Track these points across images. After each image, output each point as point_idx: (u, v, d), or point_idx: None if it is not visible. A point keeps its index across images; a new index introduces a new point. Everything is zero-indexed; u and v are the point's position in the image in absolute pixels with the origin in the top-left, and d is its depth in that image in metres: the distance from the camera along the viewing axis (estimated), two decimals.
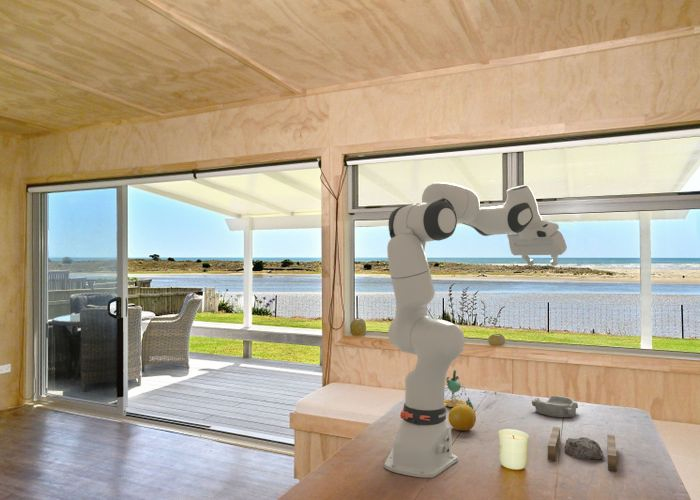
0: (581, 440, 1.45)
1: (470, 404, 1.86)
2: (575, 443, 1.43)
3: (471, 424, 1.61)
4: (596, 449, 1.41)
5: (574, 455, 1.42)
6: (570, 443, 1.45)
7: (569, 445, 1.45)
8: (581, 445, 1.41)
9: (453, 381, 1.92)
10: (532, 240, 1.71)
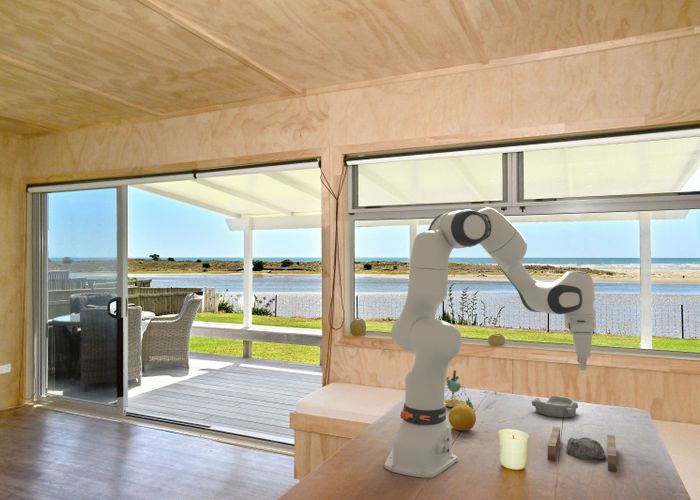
0: (583, 440, 1.45)
1: (470, 404, 1.86)
2: (577, 443, 1.43)
3: (471, 424, 1.61)
4: (598, 449, 1.41)
5: (576, 455, 1.42)
6: (572, 443, 1.45)
7: (571, 445, 1.45)
8: (583, 445, 1.42)
9: (453, 381, 1.92)
10: (570, 331, 1.58)
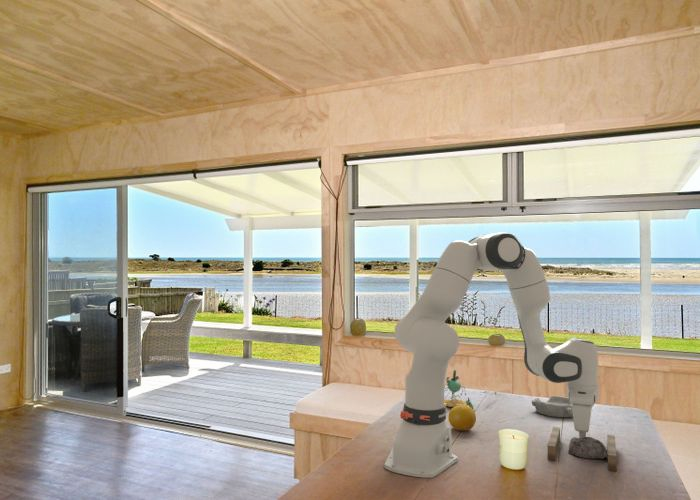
0: (585, 439, 1.45)
1: (470, 404, 1.86)
2: (579, 442, 1.43)
3: (471, 424, 1.61)
4: (600, 448, 1.41)
5: (577, 454, 1.42)
6: (574, 442, 1.45)
7: (573, 444, 1.45)
8: (584, 444, 1.41)
9: (453, 381, 1.92)
10: None
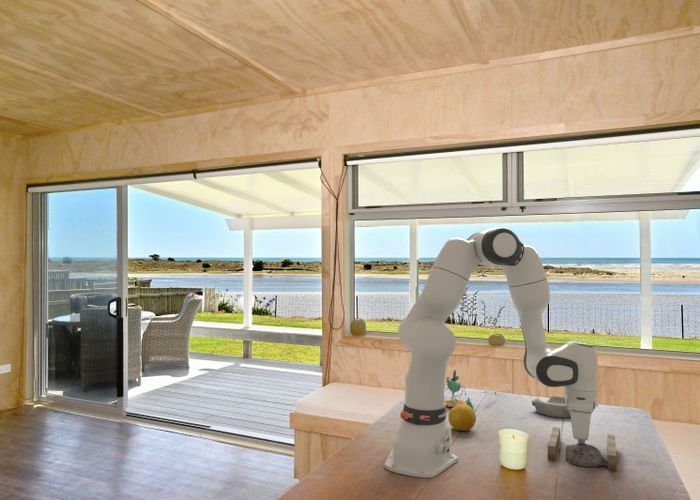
0: (583, 447, 1.39)
1: (470, 404, 1.86)
2: (581, 451, 1.36)
3: (471, 424, 1.61)
4: (601, 455, 1.36)
5: (581, 464, 1.35)
6: (574, 451, 1.38)
7: (573, 453, 1.38)
8: (588, 452, 1.35)
9: (453, 381, 1.92)
10: None
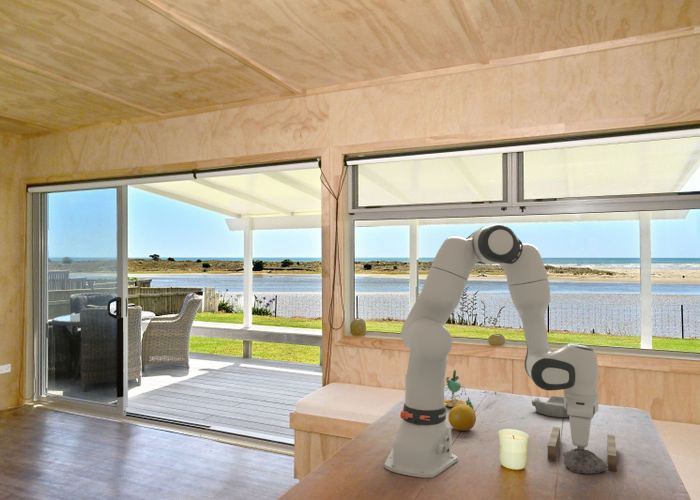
0: (582, 453, 1.35)
1: (470, 404, 1.86)
2: (584, 458, 1.31)
3: (471, 424, 1.61)
4: (601, 460, 1.33)
5: (586, 471, 1.30)
6: (576, 458, 1.32)
7: (575, 461, 1.32)
8: (591, 459, 1.31)
9: (453, 381, 1.92)
10: None
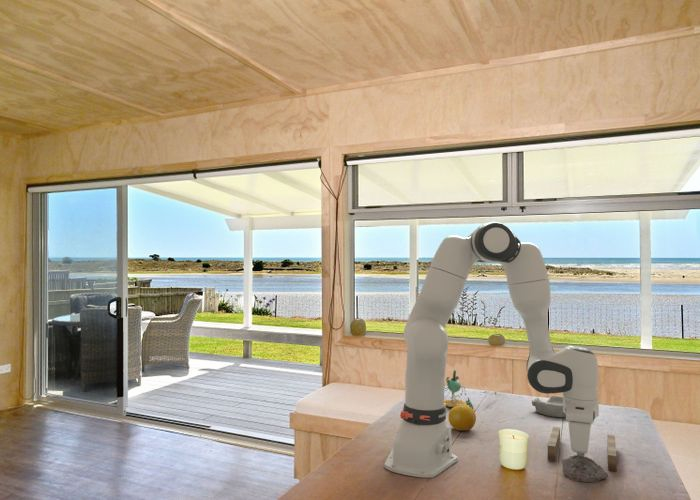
0: (581, 460, 1.30)
1: (470, 404, 1.86)
2: (583, 465, 1.27)
3: (471, 424, 1.61)
4: (601, 467, 1.28)
5: (585, 479, 1.26)
6: (575, 466, 1.28)
7: (574, 468, 1.28)
8: (591, 467, 1.26)
9: (453, 381, 1.92)
10: None
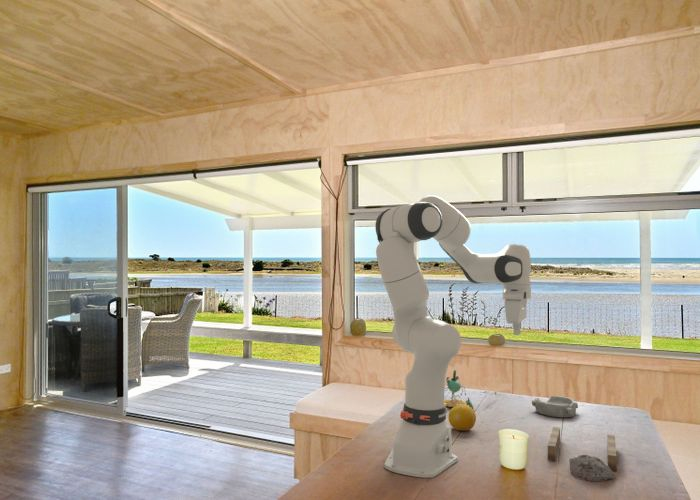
0: (589, 459, 1.31)
1: (470, 404, 1.86)
2: (589, 465, 1.28)
3: (471, 424, 1.61)
4: (608, 467, 1.28)
5: (591, 479, 1.26)
6: (581, 465, 1.29)
7: (580, 467, 1.29)
8: (597, 466, 1.27)
9: (453, 381, 1.92)
10: None
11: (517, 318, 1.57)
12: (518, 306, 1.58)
